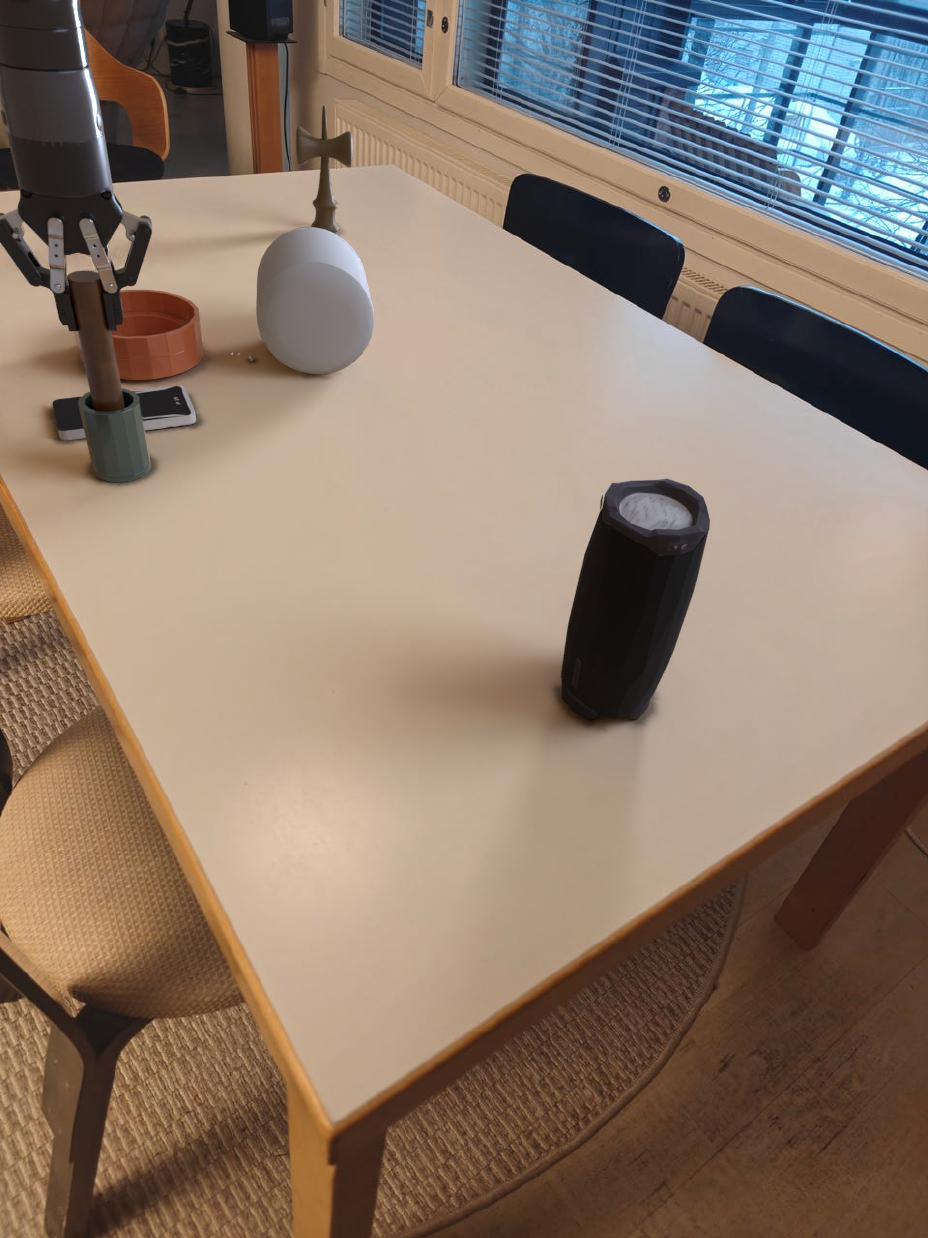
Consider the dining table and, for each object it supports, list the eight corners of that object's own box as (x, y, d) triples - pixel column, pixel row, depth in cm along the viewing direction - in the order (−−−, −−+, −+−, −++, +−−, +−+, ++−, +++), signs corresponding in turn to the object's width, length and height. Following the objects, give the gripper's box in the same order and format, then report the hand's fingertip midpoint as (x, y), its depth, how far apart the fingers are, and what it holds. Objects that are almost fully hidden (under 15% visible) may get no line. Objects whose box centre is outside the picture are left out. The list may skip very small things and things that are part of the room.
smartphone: (51, 399, 100) (183, 384, 105) (54, 410, 101) (185, 394, 106) (57, 431, 95) (196, 414, 100) (60, 442, 96) (197, 424, 101)
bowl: (77, 386, 105) (67, 339, 101) (84, 334, 116) (75, 289, 112) (206, 382, 109) (201, 336, 105) (201, 331, 120) (196, 288, 116)
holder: (92, 484, 90) (76, 415, 85) (95, 455, 94) (80, 387, 89) (150, 481, 92) (138, 413, 86) (150, 452, 96) (139, 385, 91)
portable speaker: (628, 651, 78) (685, 465, 66) (670, 728, 72) (743, 538, 59) (539, 660, 76) (581, 470, 63) (574, 740, 70) (628, 546, 57)
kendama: (299, 224, 157) (294, 99, 144) (351, 226, 159) (352, 103, 146) (298, 235, 153) (294, 107, 140) (353, 237, 154) (353, 111, 141)
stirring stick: (97, 438, 88) (65, 282, 78) (98, 423, 91) (67, 269, 80) (128, 437, 89) (100, 282, 79) (129, 422, 91) (102, 269, 81)
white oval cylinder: (204, 337, 108) (239, 242, 124) (288, 417, 117) (310, 318, 133) (314, 252, 99) (336, 161, 115) (395, 344, 108) (405, 249, 124)
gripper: (145, 118, 76) (170, 311, 87) (-32, 110, 72) (18, 312, 83) (144, 141, 70) (170, 343, 82) (-47, 133, 67) (9, 346, 78)
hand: (93, 326), depth 83 cm, fingers closed on stirring stick, 3 cm apart
